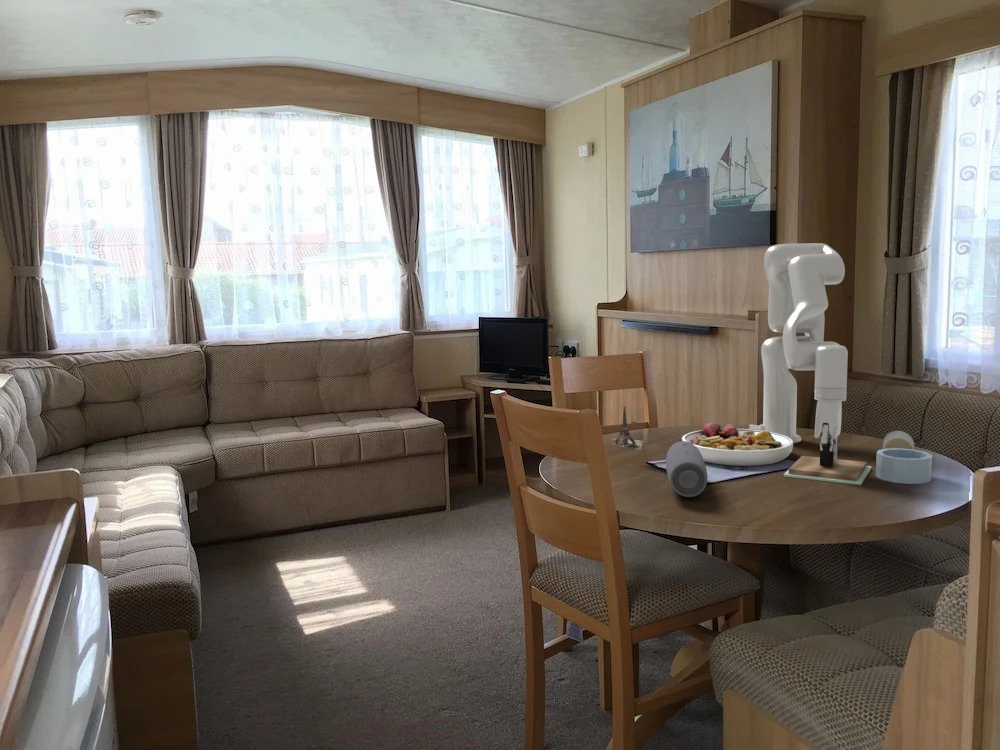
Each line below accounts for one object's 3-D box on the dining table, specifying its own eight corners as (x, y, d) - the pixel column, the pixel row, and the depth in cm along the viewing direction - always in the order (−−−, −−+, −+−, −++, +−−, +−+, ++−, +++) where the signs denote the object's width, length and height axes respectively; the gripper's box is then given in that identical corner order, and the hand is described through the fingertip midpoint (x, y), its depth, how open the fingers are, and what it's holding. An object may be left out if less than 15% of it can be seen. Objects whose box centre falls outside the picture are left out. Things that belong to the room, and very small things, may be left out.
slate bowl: (873, 480, 197) (874, 456, 196) (879, 469, 207) (880, 446, 206) (928, 486, 190) (929, 461, 189) (932, 474, 200) (933, 451, 200)
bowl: (816, 461, 218) (817, 433, 217) (725, 474, 207) (726, 444, 206) (745, 441, 246) (745, 415, 245) (661, 451, 235) (661, 425, 234)
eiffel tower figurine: (642, 451, 236) (641, 407, 234) (607, 451, 238) (607, 406, 236) (644, 441, 250) (644, 399, 248) (611, 440, 252) (611, 398, 251)
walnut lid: (788, 473, 202) (789, 447, 202) (802, 460, 216) (802, 435, 215) (856, 481, 194) (857, 453, 193) (866, 466, 207) (867, 440, 207)
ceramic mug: (881, 463, 213) (883, 435, 212) (882, 456, 220) (883, 429, 219) (926, 467, 208) (928, 438, 207) (925, 460, 216) (927, 432, 214)
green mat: (783, 476, 202) (783, 474, 202) (799, 461, 217) (799, 459, 217) (860, 485, 193) (860, 482, 193) (871, 468, 208) (871, 466, 208)
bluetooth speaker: (664, 476, 205) (664, 438, 204) (701, 477, 204) (701, 438, 202) (667, 502, 183) (667, 459, 182) (709, 503, 181) (709, 460, 180)
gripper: (821, 388, 211) (819, 456, 214) (807, 397, 197) (806, 470, 200) (851, 390, 207) (849, 458, 210) (840, 399, 193) (838, 473, 196)
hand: (828, 463), depth 205 cm, fingers closed on walnut lid, 4 cm apart
